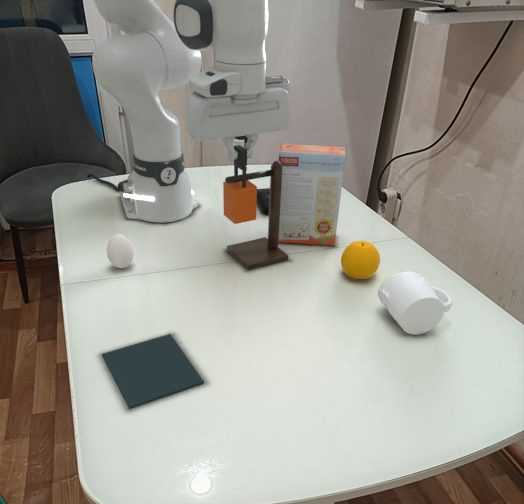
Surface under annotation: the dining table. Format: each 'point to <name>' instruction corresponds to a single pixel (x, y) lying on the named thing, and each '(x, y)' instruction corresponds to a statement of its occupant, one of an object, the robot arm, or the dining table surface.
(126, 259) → the egg
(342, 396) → the dining table surface
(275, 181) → the hook stand
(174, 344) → the mat
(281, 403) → the dining table surface
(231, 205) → the tall orange prism
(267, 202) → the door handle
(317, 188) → the cracker box
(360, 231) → the dining table surface
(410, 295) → the mug
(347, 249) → the orange round ball
